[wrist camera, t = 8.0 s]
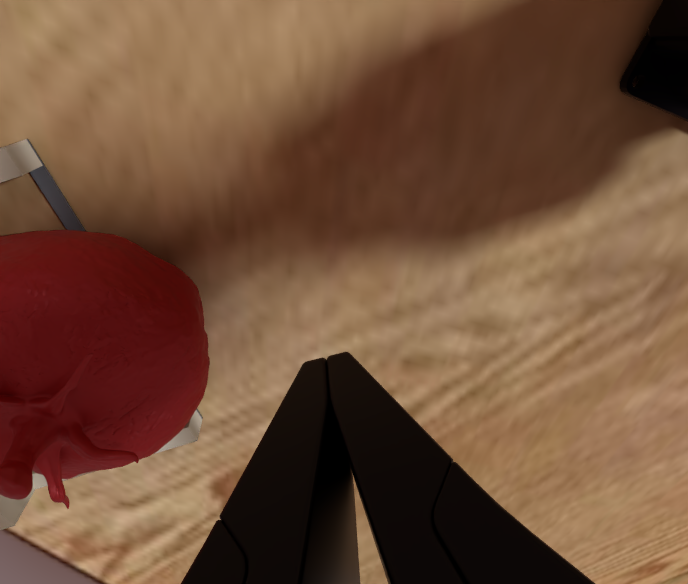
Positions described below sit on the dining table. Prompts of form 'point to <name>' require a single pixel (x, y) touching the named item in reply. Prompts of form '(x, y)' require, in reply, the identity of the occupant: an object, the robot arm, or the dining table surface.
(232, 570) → the robot arm
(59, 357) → the pomegranate
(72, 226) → the cradle
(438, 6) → the dining table surface
